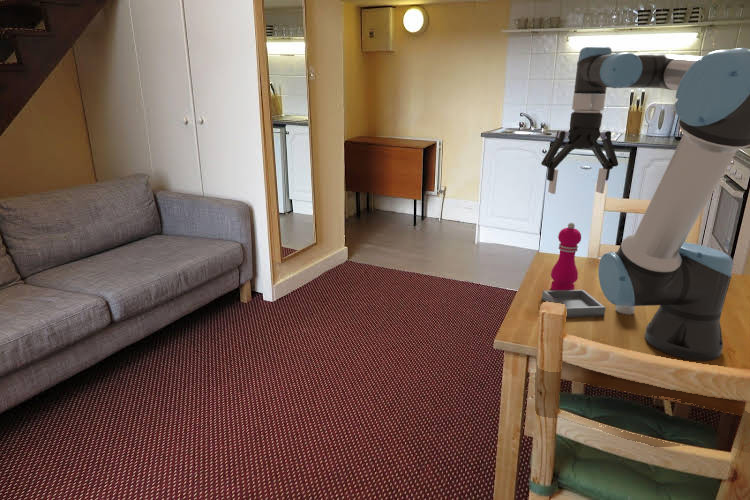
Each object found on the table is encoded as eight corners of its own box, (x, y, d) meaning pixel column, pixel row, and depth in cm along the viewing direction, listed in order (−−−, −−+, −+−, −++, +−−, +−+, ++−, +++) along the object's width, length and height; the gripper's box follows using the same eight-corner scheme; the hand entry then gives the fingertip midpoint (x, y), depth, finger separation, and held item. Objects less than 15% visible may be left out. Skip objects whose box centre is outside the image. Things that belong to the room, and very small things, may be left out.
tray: (604, 316, 127) (605, 307, 126) (560, 317, 126) (561, 308, 125) (582, 297, 138) (583, 289, 137) (541, 299, 137) (542, 290, 136)
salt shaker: (637, 314, 129) (644, 277, 126) (621, 314, 128) (627, 278, 125) (627, 306, 133) (634, 271, 130) (611, 307, 132) (618, 272, 129)
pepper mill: (571, 296, 139) (581, 227, 133) (545, 290, 143) (554, 223, 137) (578, 288, 145) (588, 222, 138) (553, 282, 149) (562, 218, 142)
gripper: (624, 111, 133) (611, 189, 140) (534, 110, 131) (526, 190, 137) (641, 112, 126) (627, 195, 133) (546, 112, 124) (536, 195, 130)
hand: (575, 192), depth 135 cm, fingers open, 13 cm apart
